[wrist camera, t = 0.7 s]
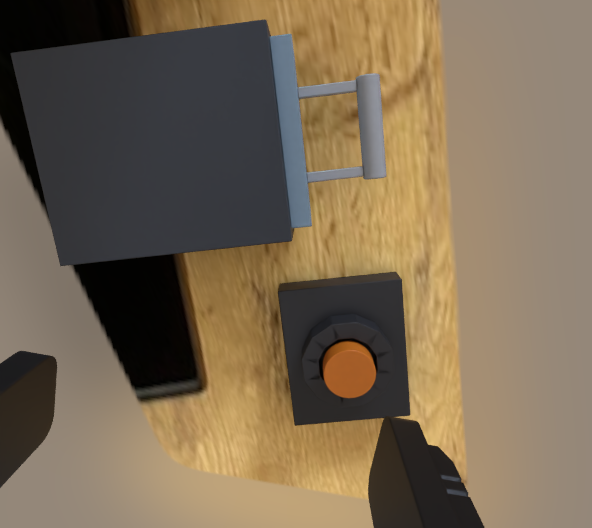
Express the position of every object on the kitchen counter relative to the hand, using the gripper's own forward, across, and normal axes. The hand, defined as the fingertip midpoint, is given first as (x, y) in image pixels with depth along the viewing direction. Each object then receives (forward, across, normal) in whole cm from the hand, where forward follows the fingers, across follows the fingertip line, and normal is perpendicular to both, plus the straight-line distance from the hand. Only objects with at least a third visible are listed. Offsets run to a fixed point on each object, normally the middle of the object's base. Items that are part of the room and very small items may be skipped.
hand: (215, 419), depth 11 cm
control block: (+24, -7, +7) cm, 26 cm away
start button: (+21, -7, +7) cm, 23 cm away
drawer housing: (+24, +7, -5) cm, 26 cm away
